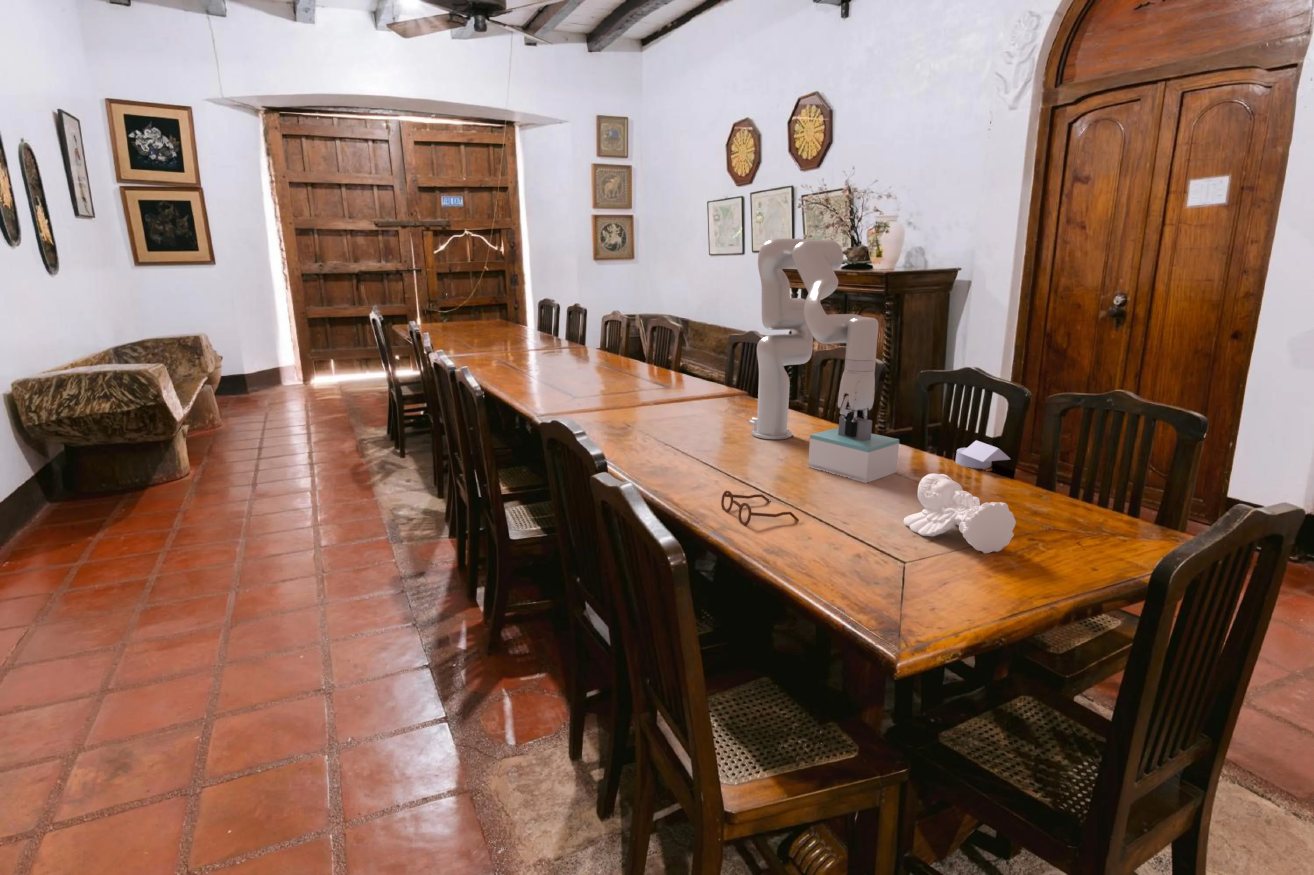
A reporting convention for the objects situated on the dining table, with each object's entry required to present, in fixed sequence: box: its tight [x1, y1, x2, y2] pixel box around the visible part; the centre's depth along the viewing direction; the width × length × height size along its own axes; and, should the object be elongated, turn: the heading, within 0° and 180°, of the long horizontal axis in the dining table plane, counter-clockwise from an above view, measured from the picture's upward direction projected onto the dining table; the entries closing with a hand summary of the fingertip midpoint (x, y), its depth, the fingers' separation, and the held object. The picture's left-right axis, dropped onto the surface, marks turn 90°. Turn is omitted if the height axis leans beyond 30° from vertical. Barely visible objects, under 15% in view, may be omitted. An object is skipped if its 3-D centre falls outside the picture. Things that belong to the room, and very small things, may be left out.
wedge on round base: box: [955, 439, 1011, 469], centre depth 193 cm, size 9×7×13 cm
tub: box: [807, 437, 900, 484], centre depth 188 cm, size 18×14×8 cm
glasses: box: [720, 490, 799, 526], centre depth 157 cm, size 13×13×5 cm
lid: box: [809, 415, 900, 452], centre depth 186 cm, size 18×14×6 cm
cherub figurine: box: [903, 473, 1017, 554], centre depth 144 cm, size 13×12×20 cm
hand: (854, 434), depth 187 cm, fingers closed on lid, 3 cm apart
